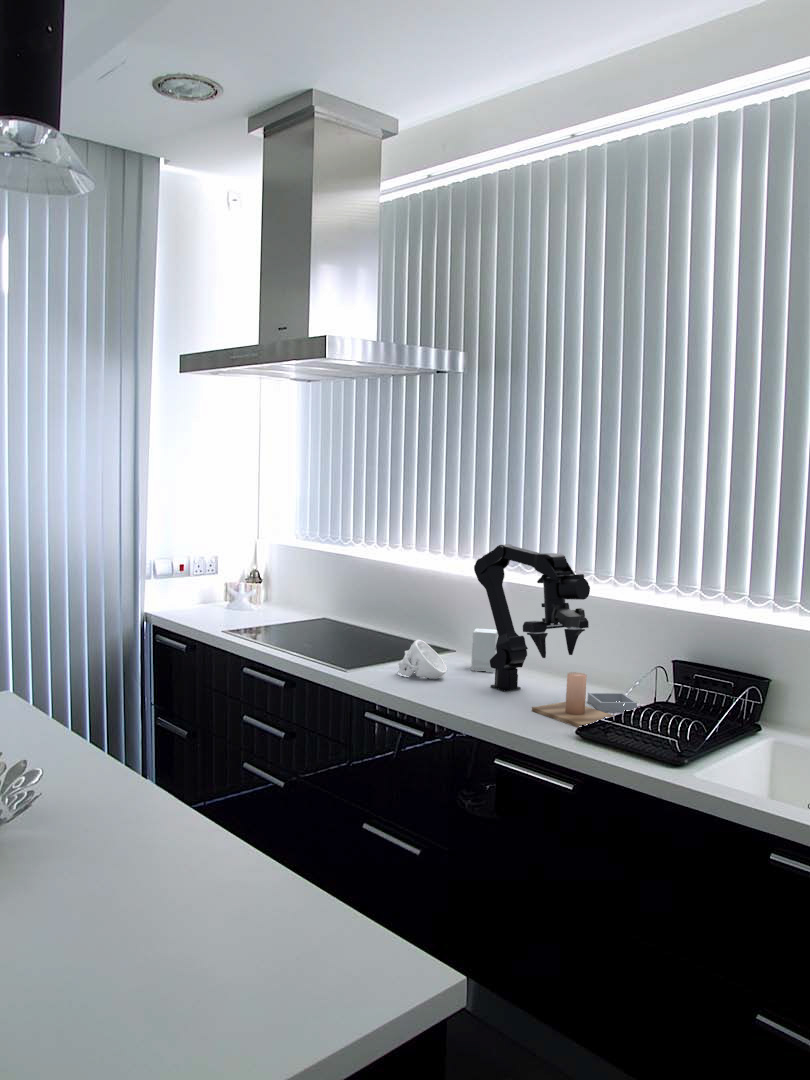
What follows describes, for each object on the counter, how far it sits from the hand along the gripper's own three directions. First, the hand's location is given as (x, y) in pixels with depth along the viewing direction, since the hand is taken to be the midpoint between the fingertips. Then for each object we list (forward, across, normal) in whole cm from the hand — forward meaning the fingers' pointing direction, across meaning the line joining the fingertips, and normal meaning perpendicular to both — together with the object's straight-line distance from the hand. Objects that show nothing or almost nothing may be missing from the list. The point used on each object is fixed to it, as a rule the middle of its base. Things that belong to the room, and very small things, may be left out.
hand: (557, 656), depth 253 cm
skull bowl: (+8, -20, +41) cm, 46 cm away
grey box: (+14, +12, -7) cm, 20 cm away
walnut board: (+14, -3, -11) cm, 18 cm away
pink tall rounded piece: (+14, -3, -11) cm, 18 cm away
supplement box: (+8, +4, +43) cm, 44 cm away
